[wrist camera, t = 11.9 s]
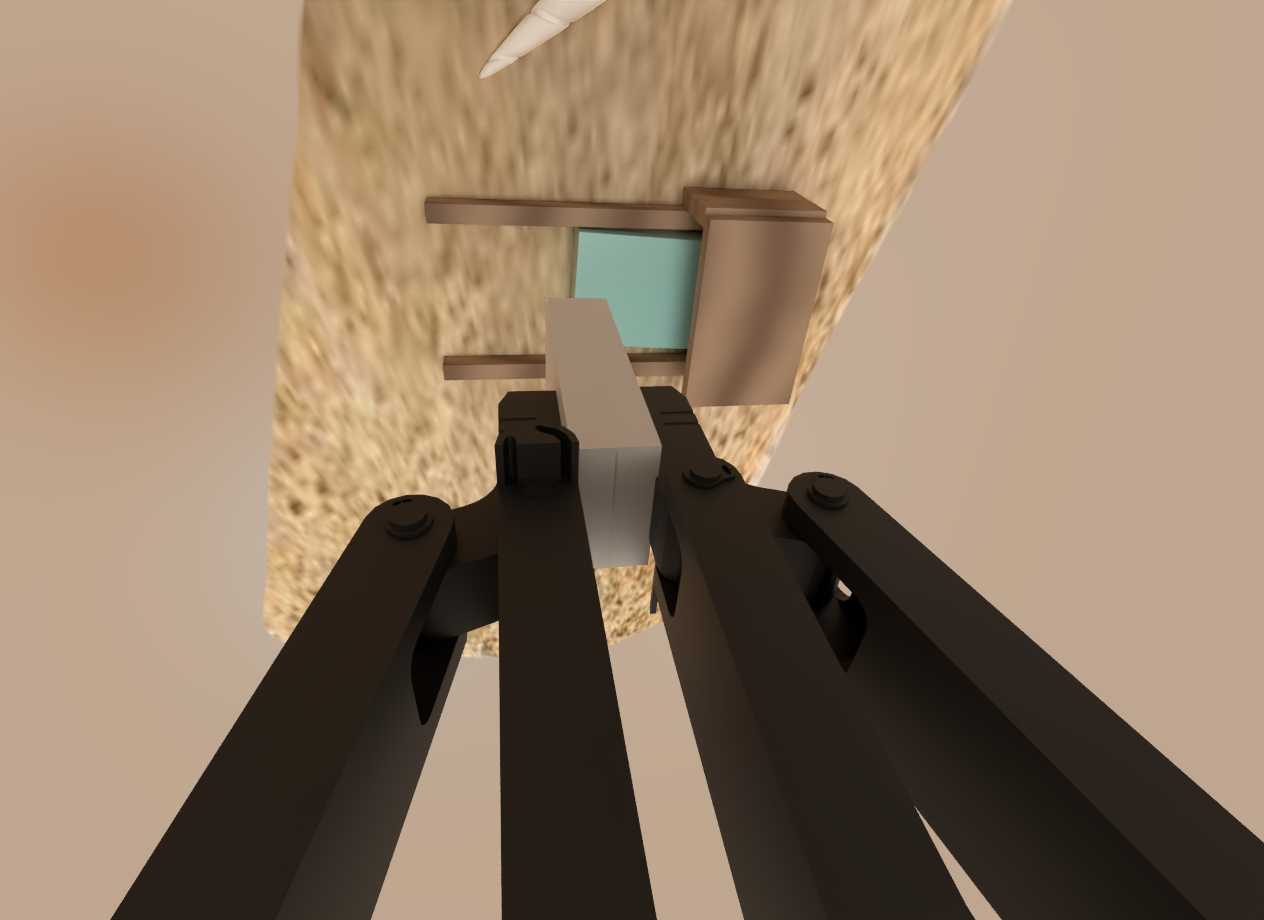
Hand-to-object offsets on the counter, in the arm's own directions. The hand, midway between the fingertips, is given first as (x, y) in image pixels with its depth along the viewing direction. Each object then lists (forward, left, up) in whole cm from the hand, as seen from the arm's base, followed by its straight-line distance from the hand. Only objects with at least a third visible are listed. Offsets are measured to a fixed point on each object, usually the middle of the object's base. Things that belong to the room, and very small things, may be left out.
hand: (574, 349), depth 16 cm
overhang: (+11, -1, -29) cm, 31 cm away
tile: (+13, +1, -30) cm, 32 cm away
